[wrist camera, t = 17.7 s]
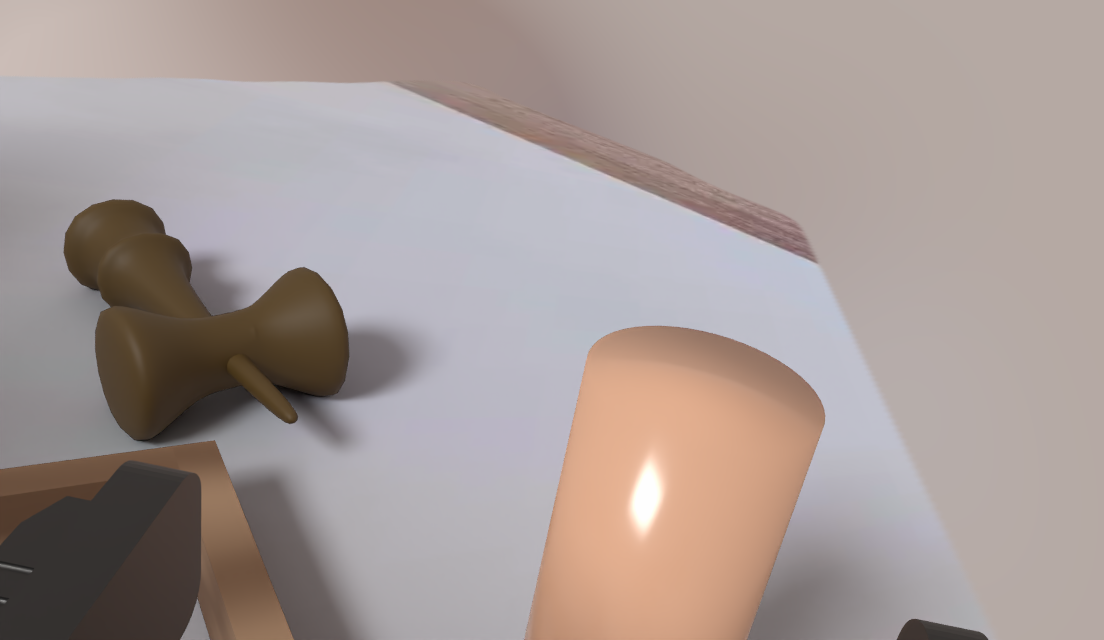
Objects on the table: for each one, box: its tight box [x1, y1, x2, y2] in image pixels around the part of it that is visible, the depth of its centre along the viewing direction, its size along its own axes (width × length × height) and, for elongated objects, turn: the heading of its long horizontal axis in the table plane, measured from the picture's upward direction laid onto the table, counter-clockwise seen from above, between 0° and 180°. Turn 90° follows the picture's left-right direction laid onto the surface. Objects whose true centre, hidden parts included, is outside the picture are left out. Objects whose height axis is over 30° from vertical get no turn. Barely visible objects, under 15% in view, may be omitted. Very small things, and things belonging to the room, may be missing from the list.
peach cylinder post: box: [524, 326, 825, 640], centre depth 24 cm, size 7×5×14 cm
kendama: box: [64, 200, 349, 440], centre depth 45 cm, size 6×10×20 cm
